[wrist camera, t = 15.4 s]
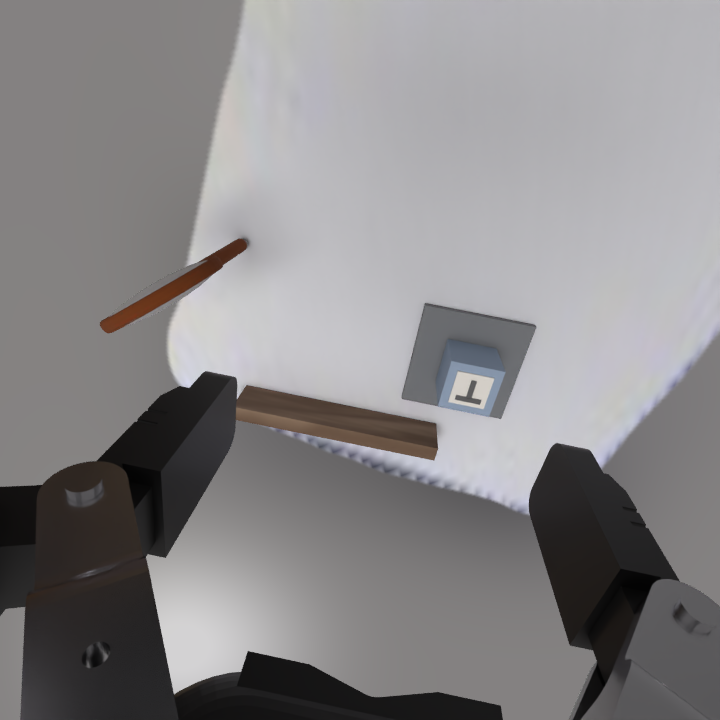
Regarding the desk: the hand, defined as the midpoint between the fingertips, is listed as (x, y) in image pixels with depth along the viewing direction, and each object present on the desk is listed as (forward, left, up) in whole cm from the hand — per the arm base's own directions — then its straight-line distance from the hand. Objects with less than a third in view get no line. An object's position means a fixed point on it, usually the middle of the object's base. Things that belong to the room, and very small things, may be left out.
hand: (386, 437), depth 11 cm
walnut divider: (+22, -3, -33) cm, 40 cm away
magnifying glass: (+5, -15, -33) cm, 37 cm away
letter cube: (+13, +9, -32) cm, 36 cm away
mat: (+13, +9, -33) cm, 37 cm away
